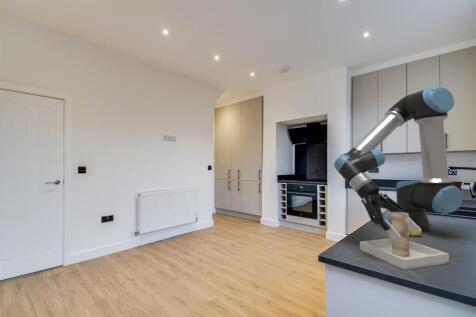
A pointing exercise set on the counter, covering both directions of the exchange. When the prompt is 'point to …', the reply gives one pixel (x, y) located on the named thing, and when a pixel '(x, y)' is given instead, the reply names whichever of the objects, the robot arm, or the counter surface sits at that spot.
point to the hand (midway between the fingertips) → (408, 235)
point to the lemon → (414, 234)
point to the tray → (417, 258)
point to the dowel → (401, 233)
